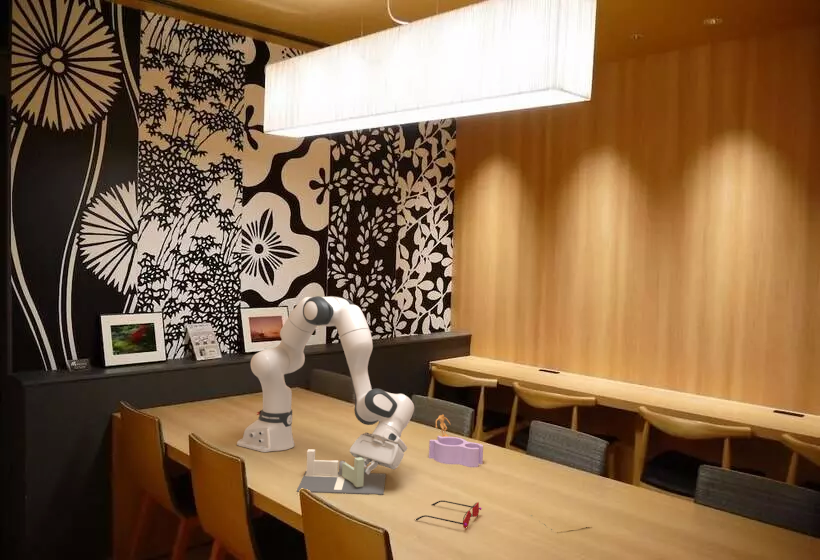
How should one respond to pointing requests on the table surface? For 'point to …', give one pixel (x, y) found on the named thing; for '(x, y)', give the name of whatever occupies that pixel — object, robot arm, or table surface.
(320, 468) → the fixed fence
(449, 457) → the lilac double-ring holder
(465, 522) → the glasses
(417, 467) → the table surface
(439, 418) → the figurine
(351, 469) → the gate
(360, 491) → the board
